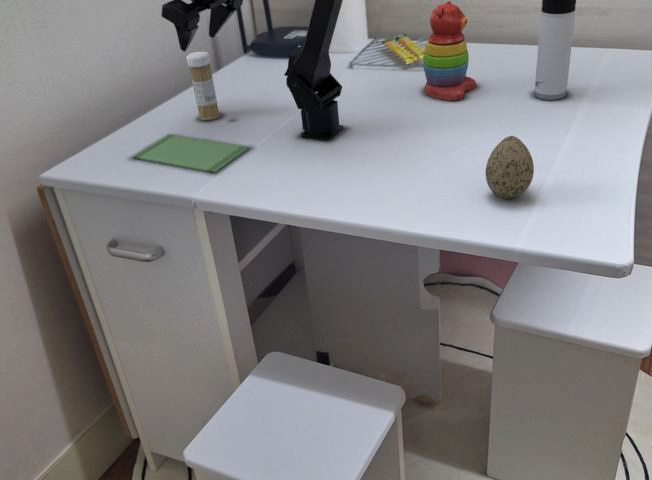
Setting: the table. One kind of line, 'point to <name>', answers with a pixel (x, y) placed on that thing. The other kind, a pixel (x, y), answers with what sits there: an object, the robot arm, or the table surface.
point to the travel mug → (554, 48)
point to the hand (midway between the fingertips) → (197, 43)
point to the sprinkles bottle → (203, 85)
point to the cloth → (191, 153)
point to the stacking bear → (447, 55)
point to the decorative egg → (509, 168)
